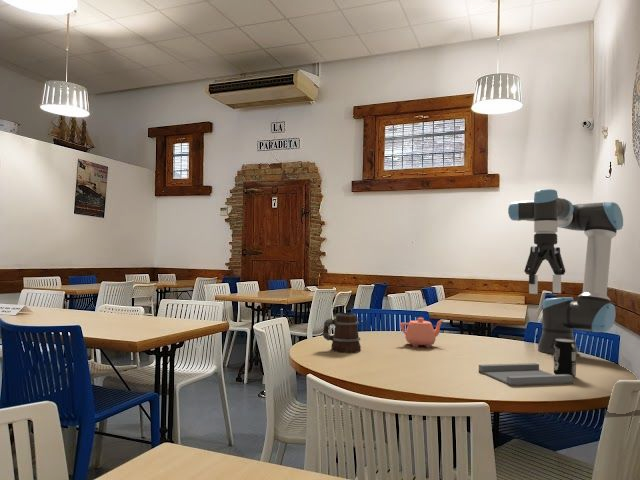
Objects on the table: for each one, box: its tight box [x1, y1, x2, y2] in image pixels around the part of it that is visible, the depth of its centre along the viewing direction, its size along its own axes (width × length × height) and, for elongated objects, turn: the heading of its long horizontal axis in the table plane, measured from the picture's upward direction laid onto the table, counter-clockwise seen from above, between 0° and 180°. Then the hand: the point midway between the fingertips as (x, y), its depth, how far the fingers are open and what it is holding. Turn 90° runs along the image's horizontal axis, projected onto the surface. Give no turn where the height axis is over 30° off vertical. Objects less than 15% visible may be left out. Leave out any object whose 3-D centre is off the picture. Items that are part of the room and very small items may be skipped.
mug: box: [321, 312, 362, 354], centre depth 196 cm, size 16×12×15 cm
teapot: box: [399, 317, 445, 348], centre depth 211 cm, size 13×20×12 cm, turn 93°
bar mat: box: [478, 362, 574, 387], centre depth 156 cm, size 22×18×2 cm
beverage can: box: [553, 339, 577, 378], centre depth 160 cm, size 7×7×12 cm
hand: (545, 293), depth 168 cm, fingers open, 13 cm apart
